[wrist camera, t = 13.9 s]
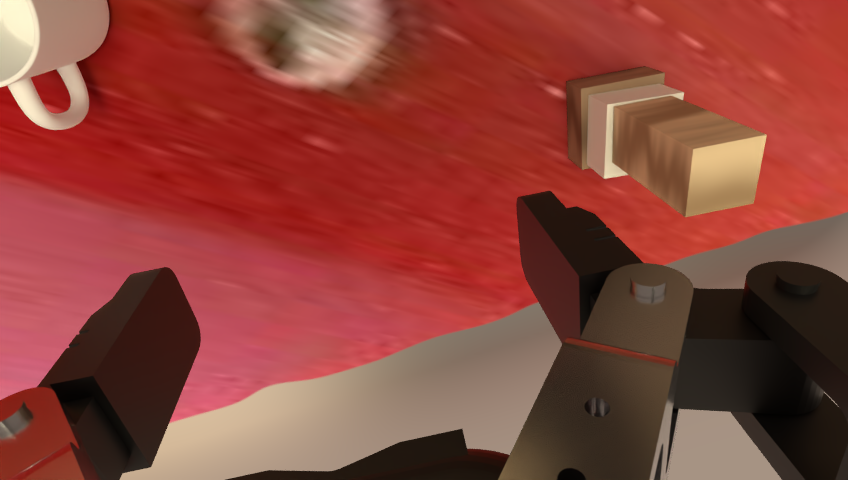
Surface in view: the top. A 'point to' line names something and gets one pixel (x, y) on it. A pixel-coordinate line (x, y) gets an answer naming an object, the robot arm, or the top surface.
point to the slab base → (594, 85)
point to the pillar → (687, 154)
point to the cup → (49, 51)
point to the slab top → (604, 119)
